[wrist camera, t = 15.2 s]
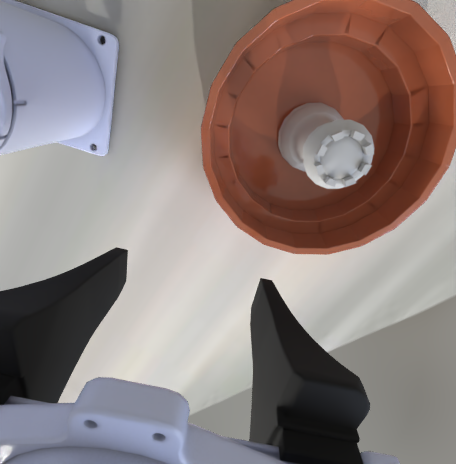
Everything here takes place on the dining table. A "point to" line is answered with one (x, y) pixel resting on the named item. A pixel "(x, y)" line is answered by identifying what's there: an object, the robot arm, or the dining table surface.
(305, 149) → the rook chess piece
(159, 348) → the dining table surface
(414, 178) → the bowl
